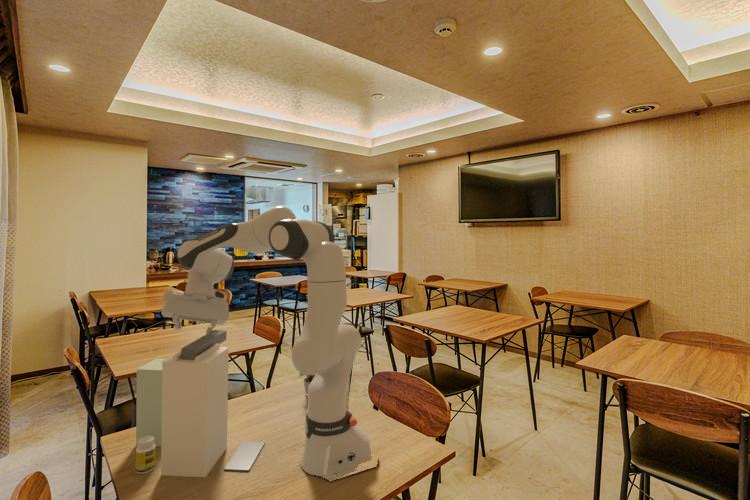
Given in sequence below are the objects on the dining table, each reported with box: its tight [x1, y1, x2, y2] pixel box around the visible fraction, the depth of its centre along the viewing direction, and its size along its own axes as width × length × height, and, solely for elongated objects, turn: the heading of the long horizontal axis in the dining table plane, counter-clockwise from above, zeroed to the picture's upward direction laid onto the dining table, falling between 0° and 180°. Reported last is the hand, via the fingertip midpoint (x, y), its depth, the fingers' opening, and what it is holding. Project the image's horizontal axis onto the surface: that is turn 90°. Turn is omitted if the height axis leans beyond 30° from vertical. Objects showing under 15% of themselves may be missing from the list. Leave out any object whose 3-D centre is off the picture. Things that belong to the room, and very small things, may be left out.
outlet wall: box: [160, 344, 230, 478], centre depth 109 cm, size 14×12×32 cm
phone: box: [223, 441, 265, 473], centre depth 112 cm, size 14×7×1 cm, turn 179°
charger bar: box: [180, 329, 227, 360], centre depth 113 cm, size 20×4×3 cm, turn 179°
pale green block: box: [135, 358, 167, 447], centre depth 120 cm, size 10×8×24 cm
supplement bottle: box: [134, 436, 157, 475], centre depth 104 cm, size 5×5×8 cm
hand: (193, 331), depth 121 cm, fingers open, 8 cm apart
